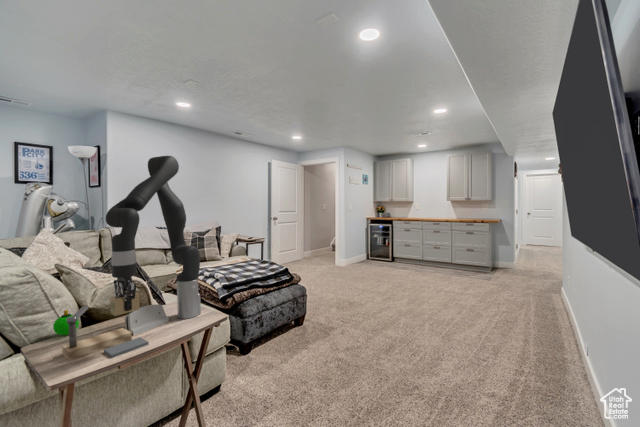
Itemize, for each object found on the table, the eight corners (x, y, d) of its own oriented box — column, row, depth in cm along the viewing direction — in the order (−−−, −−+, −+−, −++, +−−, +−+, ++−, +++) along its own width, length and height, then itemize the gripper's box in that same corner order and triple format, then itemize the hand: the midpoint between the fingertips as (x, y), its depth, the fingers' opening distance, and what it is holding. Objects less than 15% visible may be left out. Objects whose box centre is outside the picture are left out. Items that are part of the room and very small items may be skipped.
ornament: (82, 333, 122) (81, 309, 122) (57, 341, 116) (56, 315, 115) (75, 329, 127) (74, 305, 127) (50, 336, 120) (49, 311, 120)
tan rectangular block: (134, 307, 113) (134, 291, 113) (139, 309, 110) (139, 292, 110) (110, 313, 106) (110, 296, 106) (115, 316, 104) (114, 298, 104)
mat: (140, 339, 116) (140, 337, 116) (148, 344, 112) (148, 341, 112) (103, 352, 106) (103, 349, 106) (111, 357, 102) (111, 355, 102)
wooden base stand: (123, 335, 120) (122, 306, 120) (131, 340, 116) (130, 310, 115) (62, 354, 105) (61, 322, 104) (69, 361, 100) (68, 327, 100)
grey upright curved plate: (133, 336, 119) (127, 311, 120) (126, 337, 121) (120, 314, 122) (170, 321, 134) (164, 299, 135) (163, 323, 136) (158, 301, 137)
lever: (75, 322, 103) (75, 318, 103) (65, 324, 102) (64, 319, 102) (90, 308, 117) (90, 304, 117) (81, 309, 116) (80, 305, 116)
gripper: (144, 263, 107) (145, 310, 107) (127, 259, 115) (128, 303, 116) (120, 266, 101) (122, 316, 101) (104, 262, 109) (106, 308, 110)
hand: (125, 309), depth 108 cm, fingers closed on tan rectangular block, 4 cm apart
